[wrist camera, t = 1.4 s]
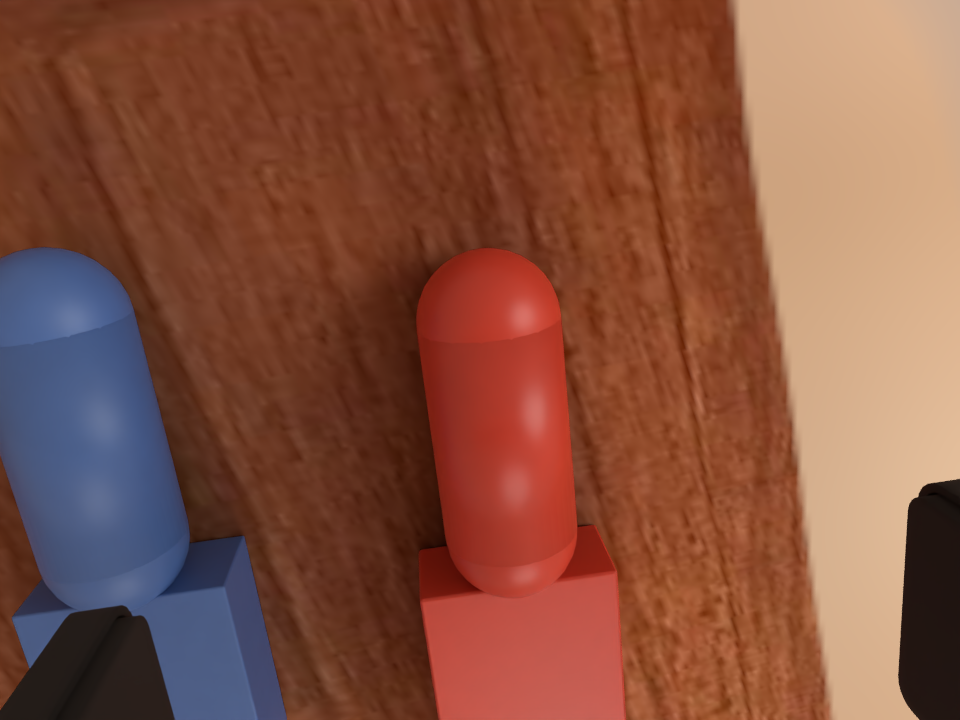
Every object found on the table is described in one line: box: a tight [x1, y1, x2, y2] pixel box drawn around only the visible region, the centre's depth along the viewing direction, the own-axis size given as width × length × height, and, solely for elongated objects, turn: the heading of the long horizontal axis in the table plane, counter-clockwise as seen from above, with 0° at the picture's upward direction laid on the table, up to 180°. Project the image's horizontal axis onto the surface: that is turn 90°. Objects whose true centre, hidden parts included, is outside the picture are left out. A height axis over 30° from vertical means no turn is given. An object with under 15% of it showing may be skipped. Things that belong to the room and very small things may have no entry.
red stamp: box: [416, 248, 626, 720], centre depth 16 cm, size 12×4×3 cm, turn 6°
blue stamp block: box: [0, 247, 287, 720], centre depth 15 cm, size 12×4×3 cm, turn 6°
